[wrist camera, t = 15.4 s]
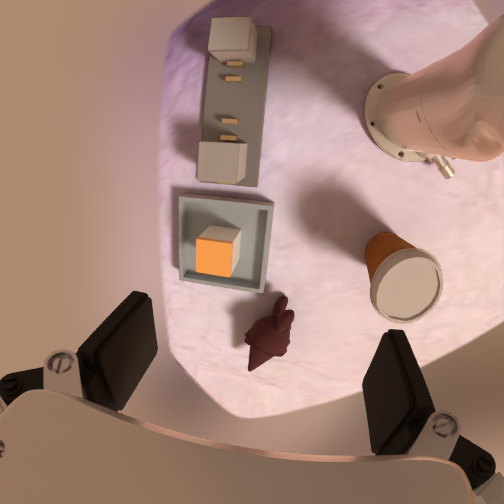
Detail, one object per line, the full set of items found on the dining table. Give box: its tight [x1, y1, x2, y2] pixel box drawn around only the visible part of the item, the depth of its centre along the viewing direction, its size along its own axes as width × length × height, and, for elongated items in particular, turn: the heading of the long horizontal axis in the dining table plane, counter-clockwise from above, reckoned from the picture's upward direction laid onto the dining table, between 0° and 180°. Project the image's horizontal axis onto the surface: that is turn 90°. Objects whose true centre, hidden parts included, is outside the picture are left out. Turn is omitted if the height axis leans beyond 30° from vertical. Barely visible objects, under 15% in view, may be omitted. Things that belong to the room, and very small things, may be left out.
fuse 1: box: [208, 17, 258, 63], centre depth 28 cm, size 5×5×6 cm
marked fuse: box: [196, 225, 241, 277], centre depth 39 cm, size 5×5×6 cm
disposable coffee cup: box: [365, 232, 443, 324], centre depth 34 cm, size 10×10×12 cm
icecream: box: [245, 296, 294, 372], centre depth 44 cm, size 7×7×15 cm
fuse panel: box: [200, 27, 272, 187], centre depth 33 cm, size 8×23×3 cm, turn 175°
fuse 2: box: [197, 141, 248, 184], centre depth 34 cm, size 5×5×6 cm
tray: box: [179, 193, 274, 293], centre depth 41 cm, size 13×13×2 cm
